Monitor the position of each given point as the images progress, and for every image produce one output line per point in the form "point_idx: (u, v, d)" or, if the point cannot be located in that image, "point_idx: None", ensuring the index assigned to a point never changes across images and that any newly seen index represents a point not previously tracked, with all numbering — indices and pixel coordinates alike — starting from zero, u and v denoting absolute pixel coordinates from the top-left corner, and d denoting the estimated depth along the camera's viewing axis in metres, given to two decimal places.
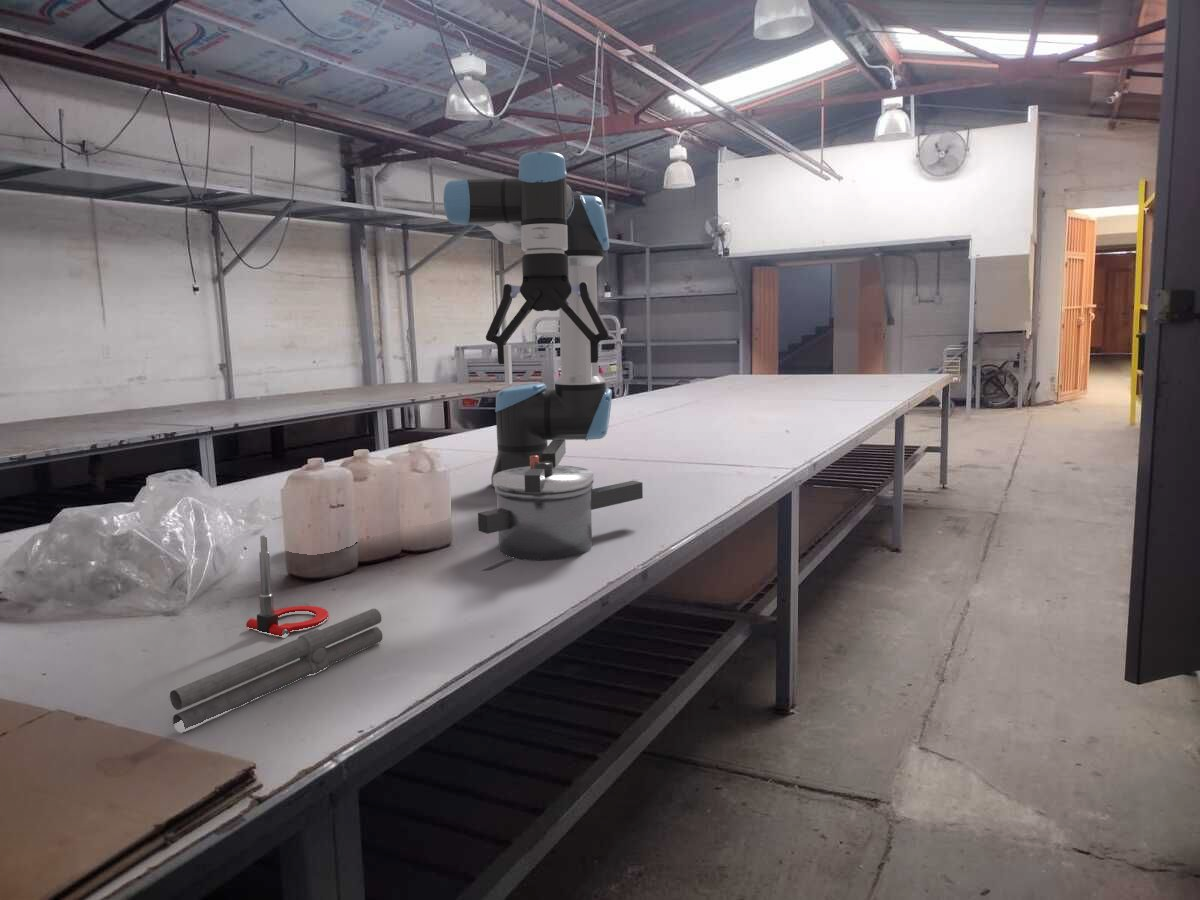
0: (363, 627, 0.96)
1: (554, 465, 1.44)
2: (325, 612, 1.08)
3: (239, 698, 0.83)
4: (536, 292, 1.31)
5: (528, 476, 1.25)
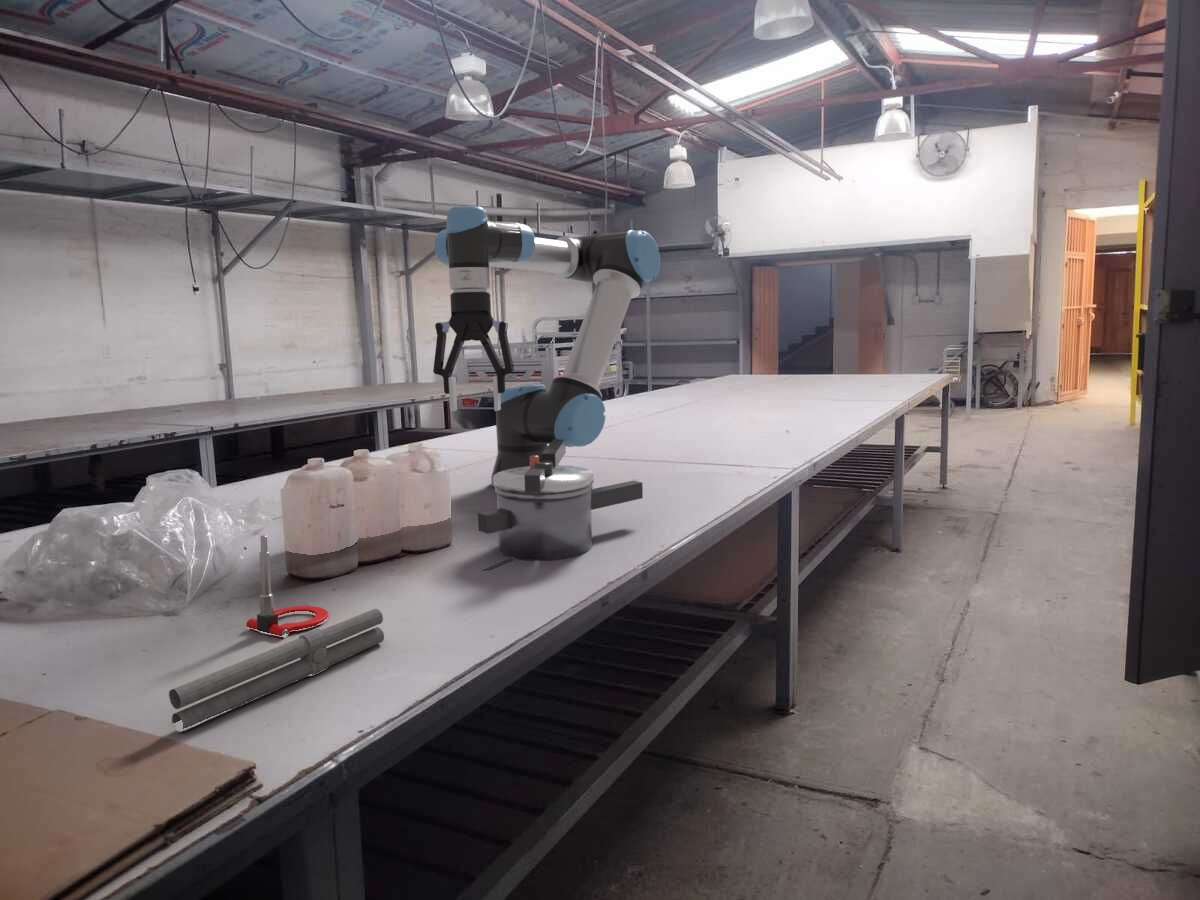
0: (364, 627, 0.96)
1: (554, 465, 1.44)
2: (325, 612, 1.08)
3: (238, 697, 0.83)
4: (462, 325, 1.52)
5: (528, 476, 1.25)
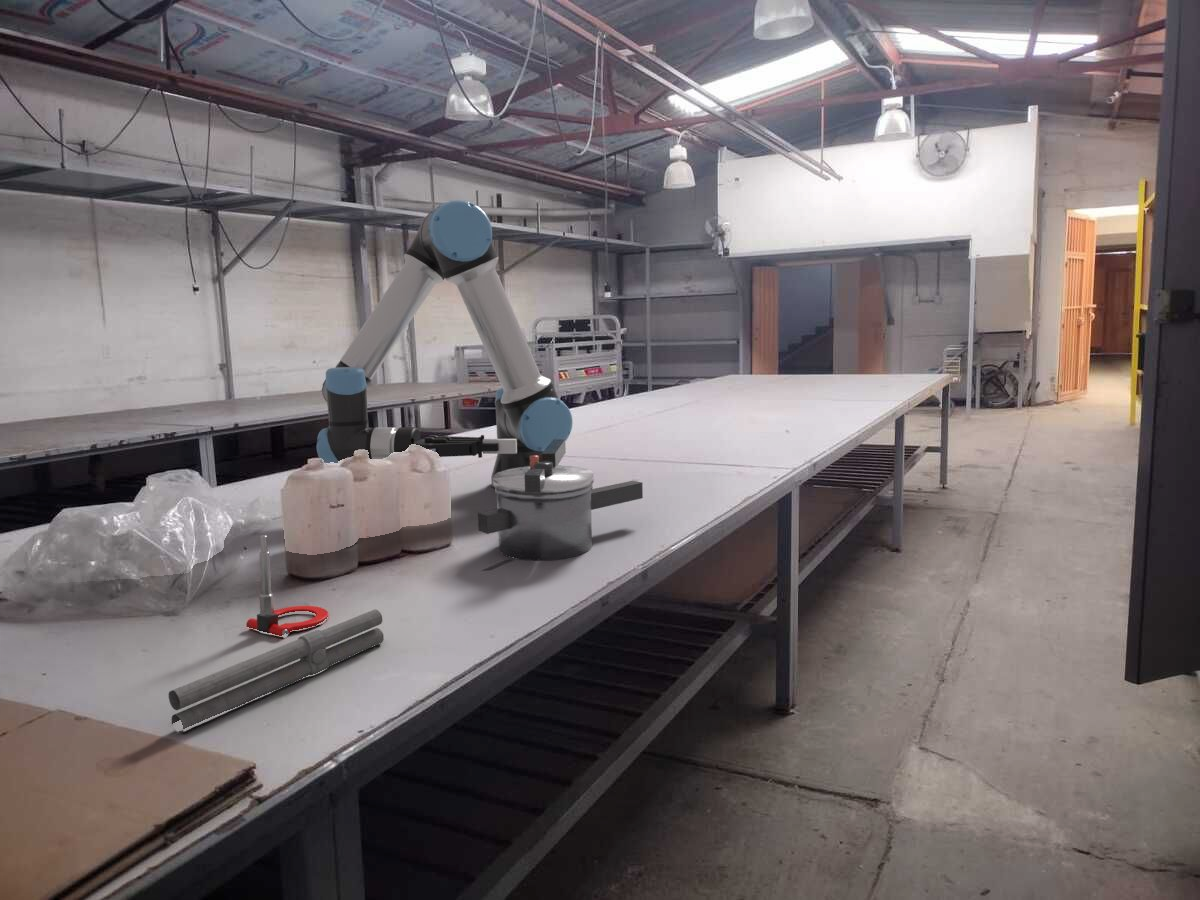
0: (364, 628, 0.96)
1: (554, 465, 1.44)
2: (325, 612, 1.08)
3: (238, 699, 0.83)
4: None
5: (528, 476, 1.25)
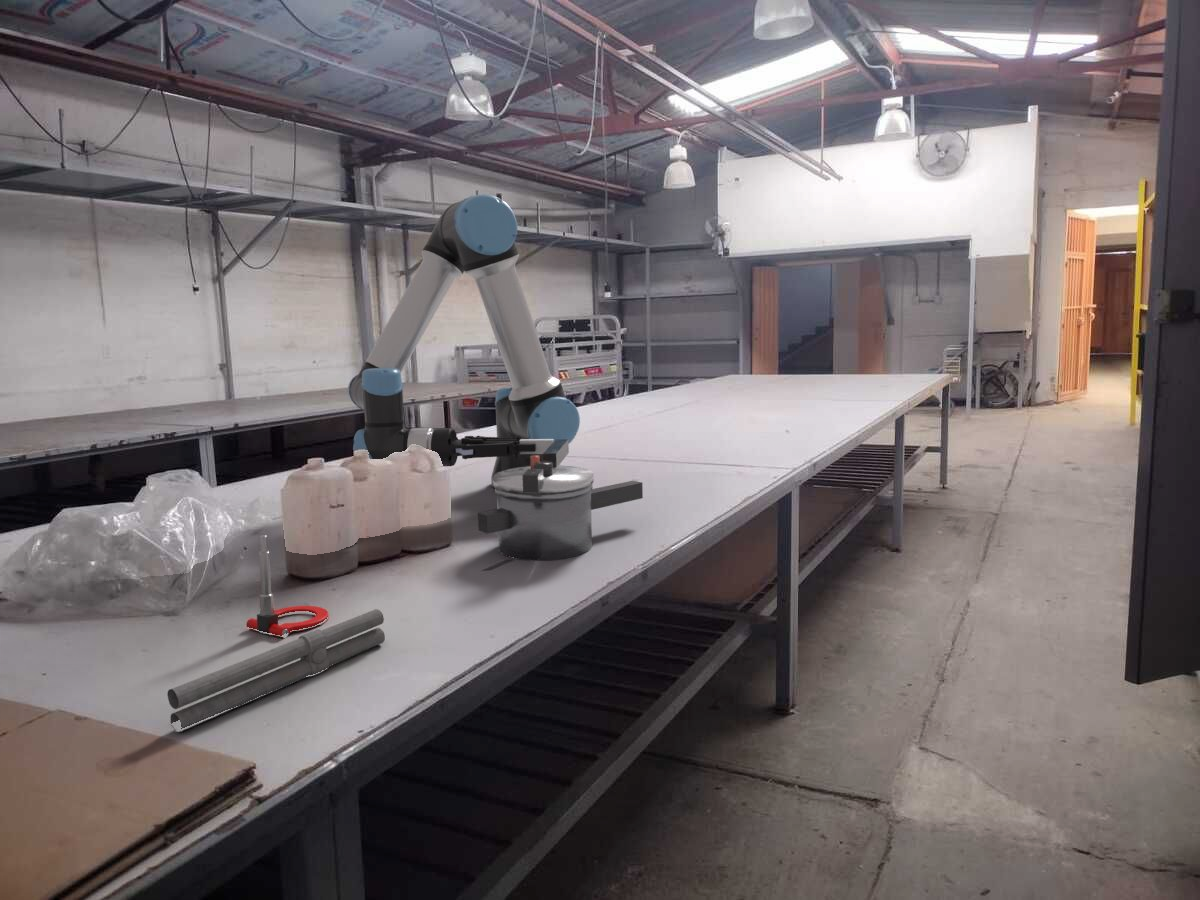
0: (365, 628, 0.96)
1: (555, 465, 1.44)
2: (325, 612, 1.08)
3: (237, 698, 0.83)
4: None
5: (526, 476, 1.25)
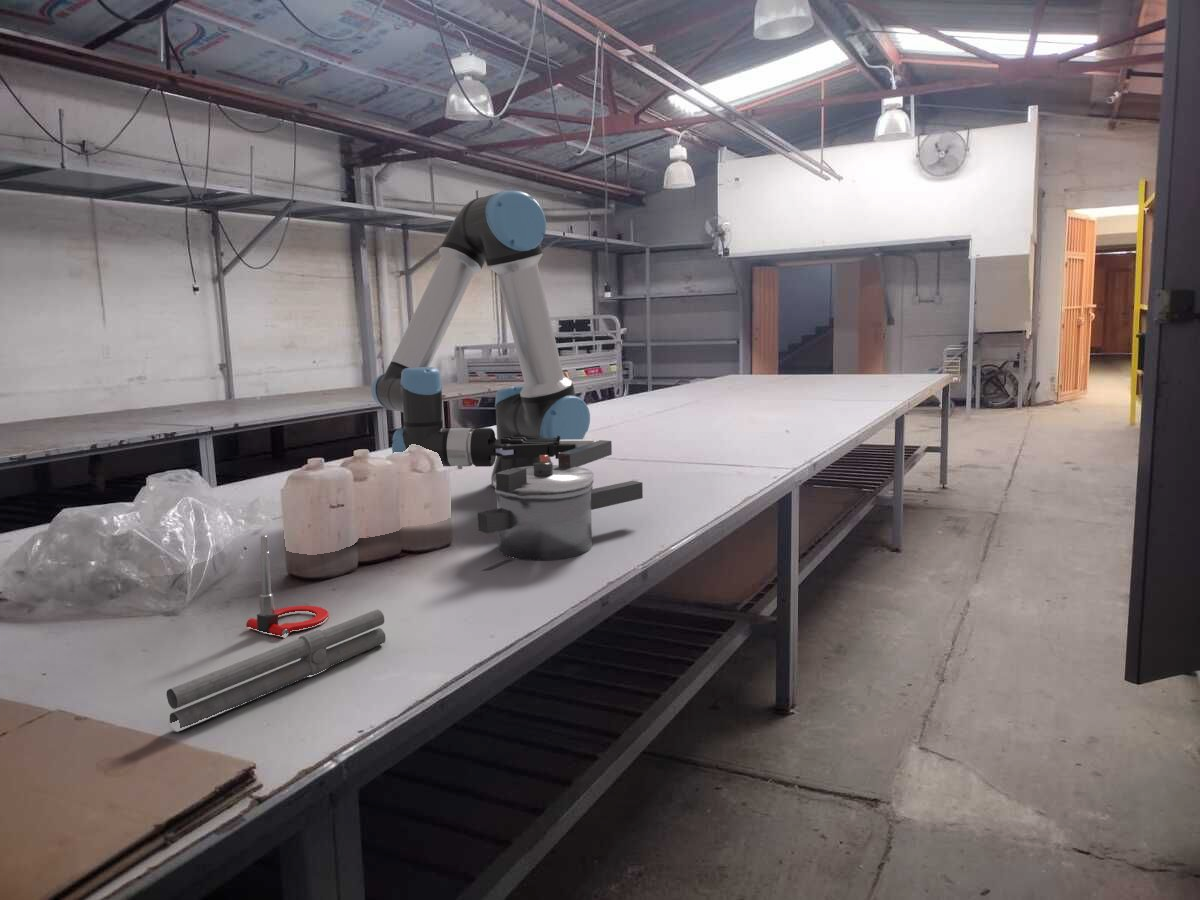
0: (365, 628, 0.96)
1: (569, 466, 1.42)
2: (325, 612, 1.08)
3: (236, 698, 0.83)
4: None
5: (499, 475, 1.26)
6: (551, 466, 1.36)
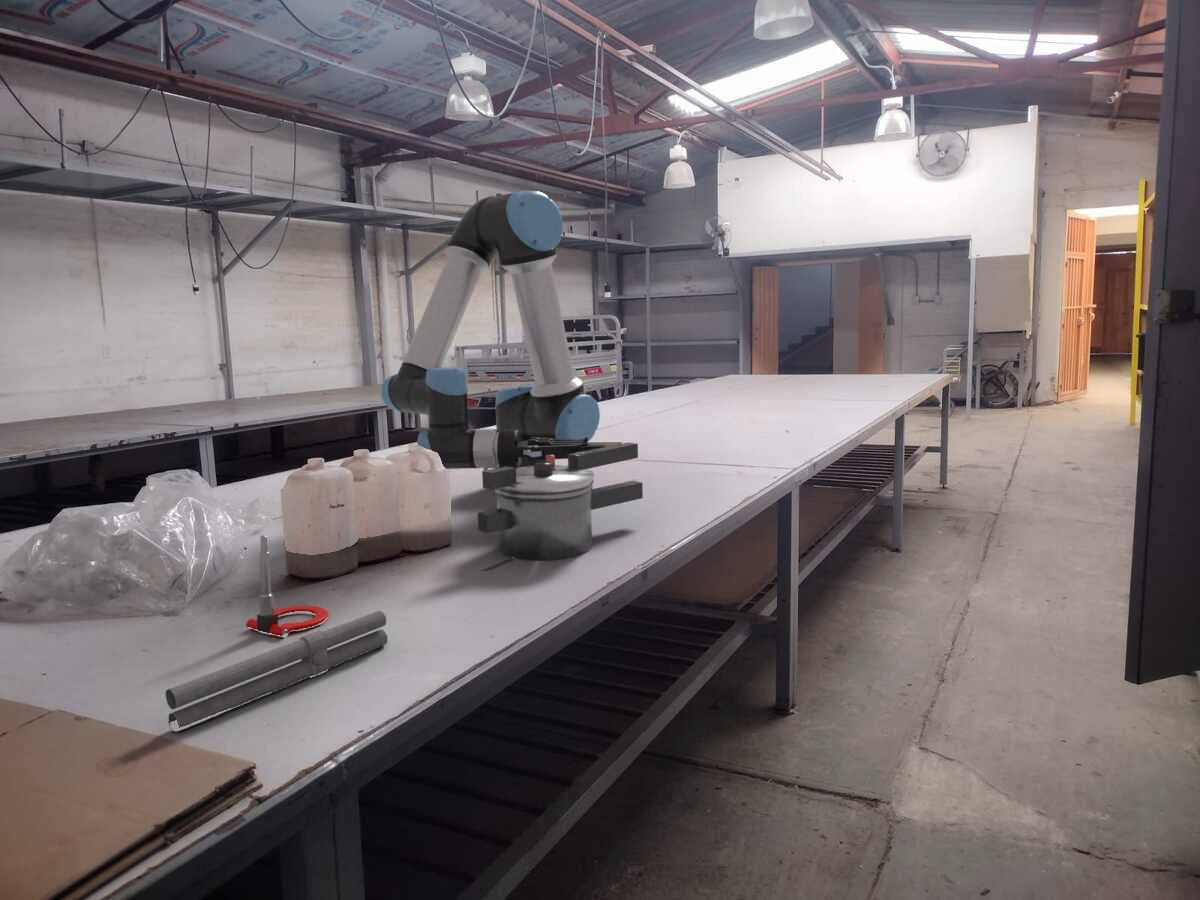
0: (367, 629, 0.96)
1: (576, 467, 1.41)
2: (325, 612, 1.08)
3: (236, 699, 0.83)
4: None
5: (484, 472, 1.28)
6: (550, 466, 1.36)
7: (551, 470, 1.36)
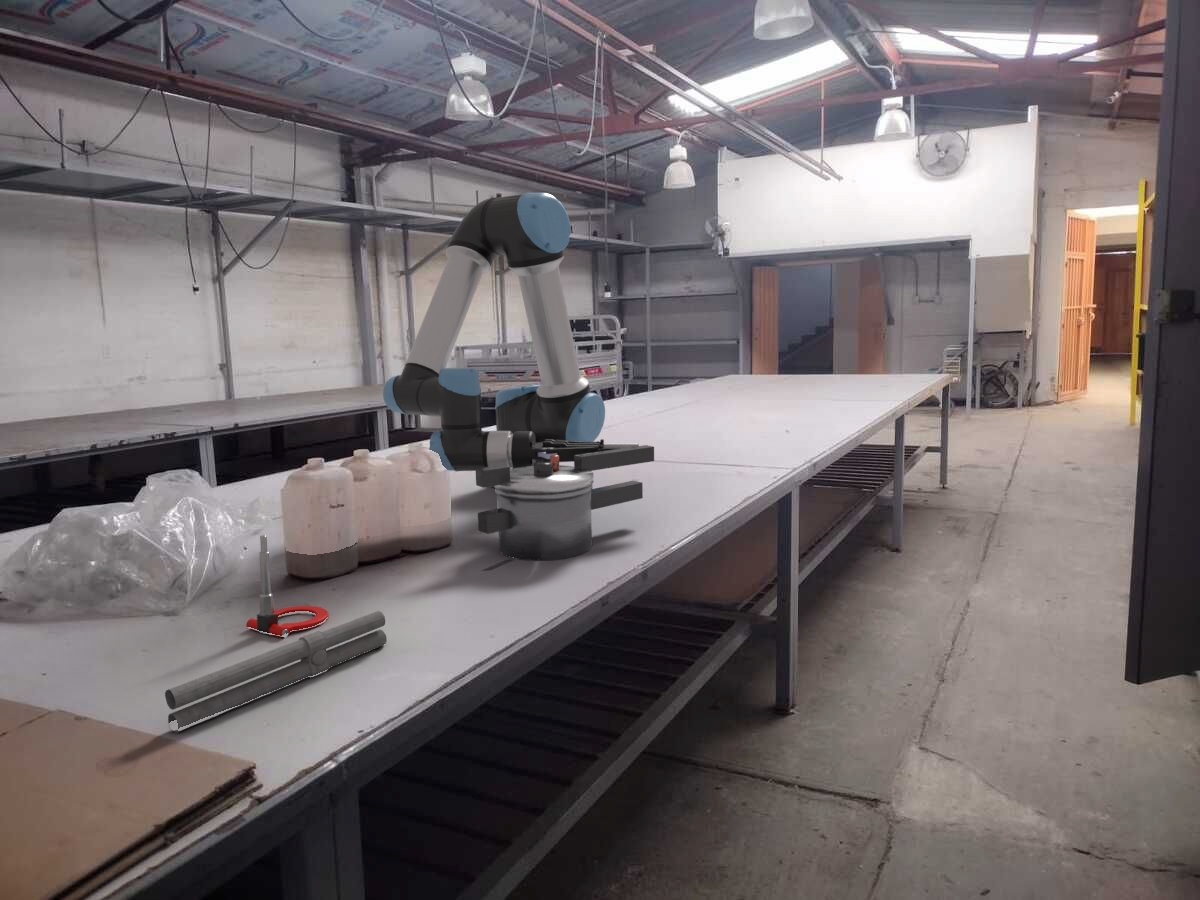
0: (366, 630, 0.96)
1: (581, 469, 1.40)
2: (325, 612, 1.08)
3: (235, 699, 0.83)
4: None
5: (477, 470, 1.30)
6: (548, 467, 1.35)
7: (550, 470, 1.36)
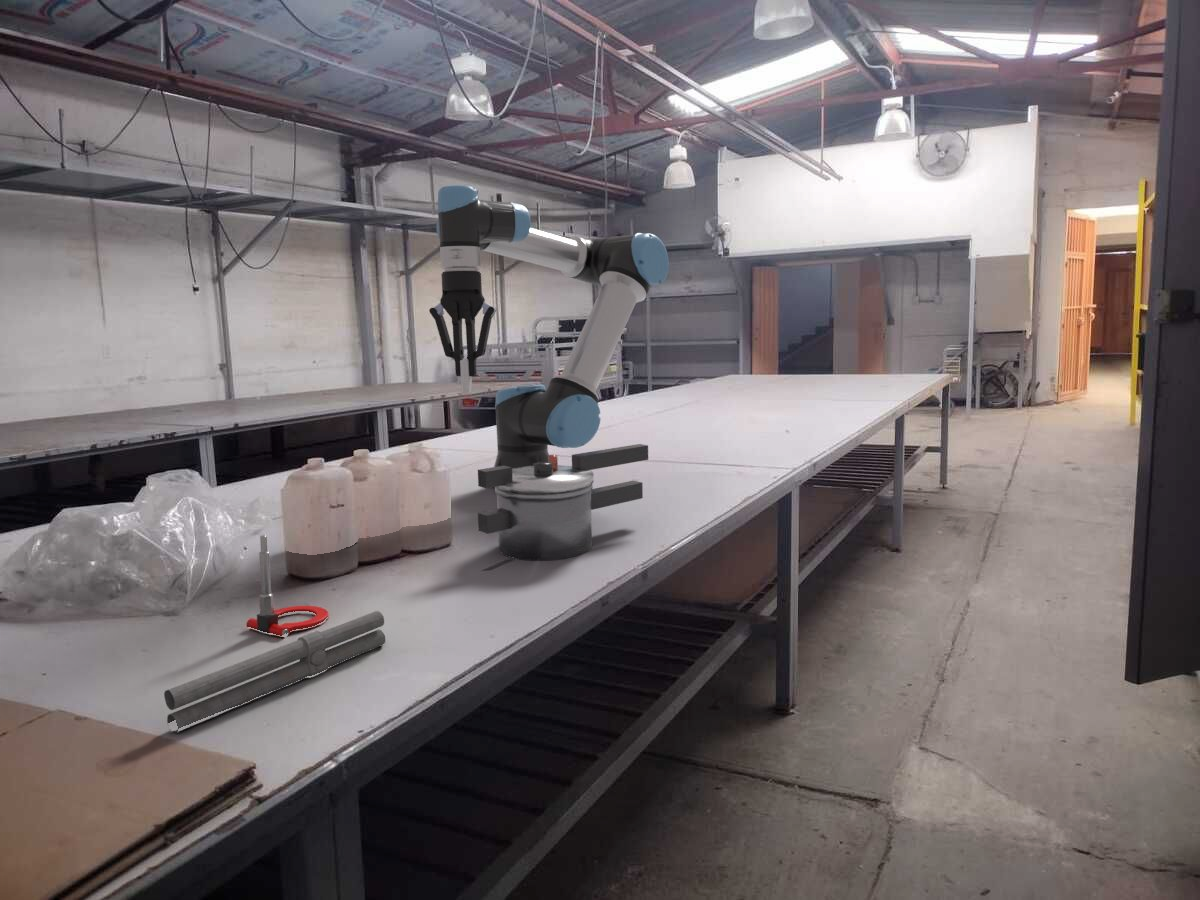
0: (365, 630, 0.96)
1: (579, 468, 1.40)
2: (325, 612, 1.08)
3: (234, 699, 0.83)
4: (453, 304, 1.54)
5: (479, 471, 1.29)
6: (549, 467, 1.35)
7: (550, 470, 1.36)
